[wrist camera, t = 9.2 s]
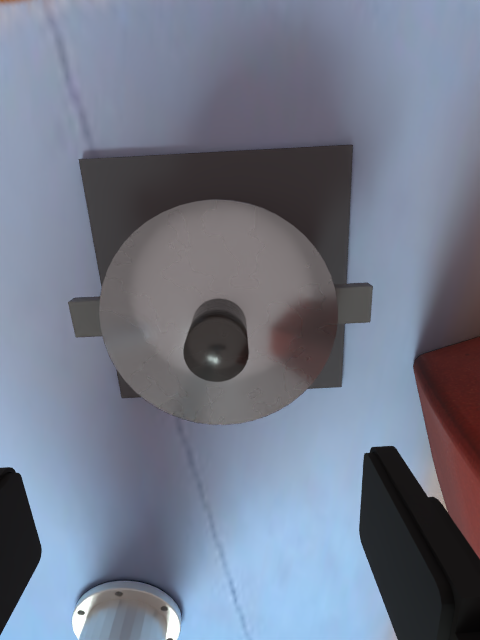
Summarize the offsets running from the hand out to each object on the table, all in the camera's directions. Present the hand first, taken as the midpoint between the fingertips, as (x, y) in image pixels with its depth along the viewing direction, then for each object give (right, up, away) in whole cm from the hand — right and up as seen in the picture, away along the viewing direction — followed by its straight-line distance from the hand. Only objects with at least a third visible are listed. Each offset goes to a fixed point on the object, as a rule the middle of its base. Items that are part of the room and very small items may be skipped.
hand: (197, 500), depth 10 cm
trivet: (0, +8, +21) cm, 22 cm away
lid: (0, +5, +13) cm, 14 cm away
